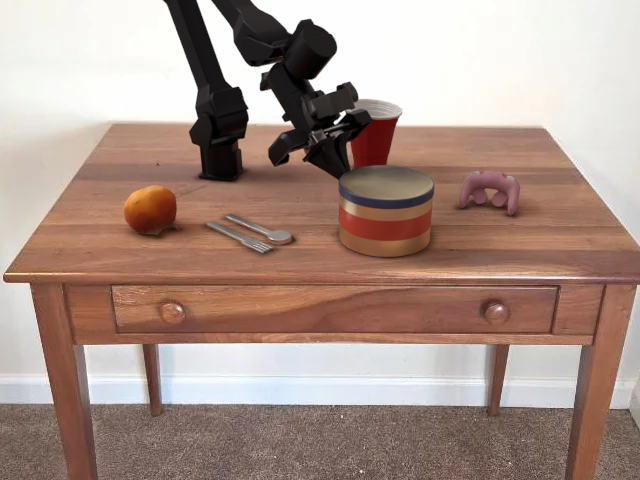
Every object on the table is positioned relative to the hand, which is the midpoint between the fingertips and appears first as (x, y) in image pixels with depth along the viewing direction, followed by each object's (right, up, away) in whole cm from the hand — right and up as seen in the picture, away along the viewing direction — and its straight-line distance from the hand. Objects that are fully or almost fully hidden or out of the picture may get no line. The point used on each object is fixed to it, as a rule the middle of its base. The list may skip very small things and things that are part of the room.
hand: (349, 183), depth 116 cm
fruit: (-31, -7, +1) cm, 32 cm away
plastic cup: (+4, +7, +25) cm, 26 cm away
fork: (-17, -9, -2) cm, 19 cm away
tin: (+5, -8, 0) cm, 10 cm away
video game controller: (+23, -2, +10) cm, 26 cm away
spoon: (-14, -7, +1) cm, 16 cm away
